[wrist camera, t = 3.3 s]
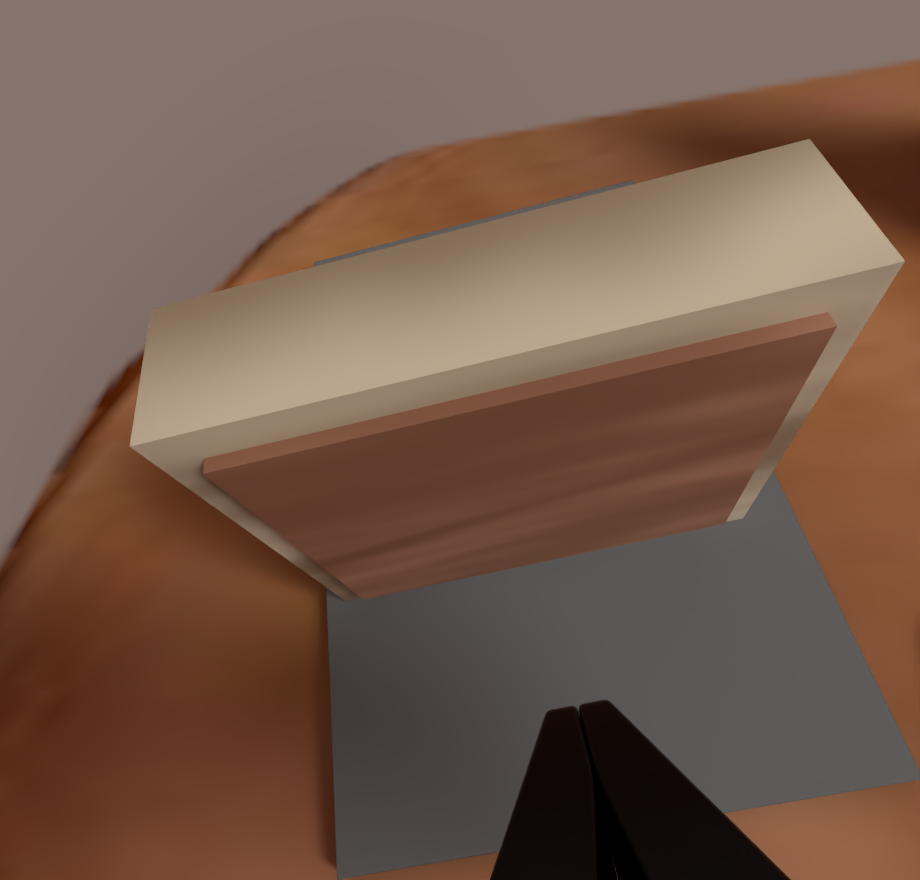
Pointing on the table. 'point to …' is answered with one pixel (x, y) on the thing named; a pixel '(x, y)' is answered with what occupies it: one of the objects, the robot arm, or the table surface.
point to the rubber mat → (599, 679)
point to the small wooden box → (520, 376)
